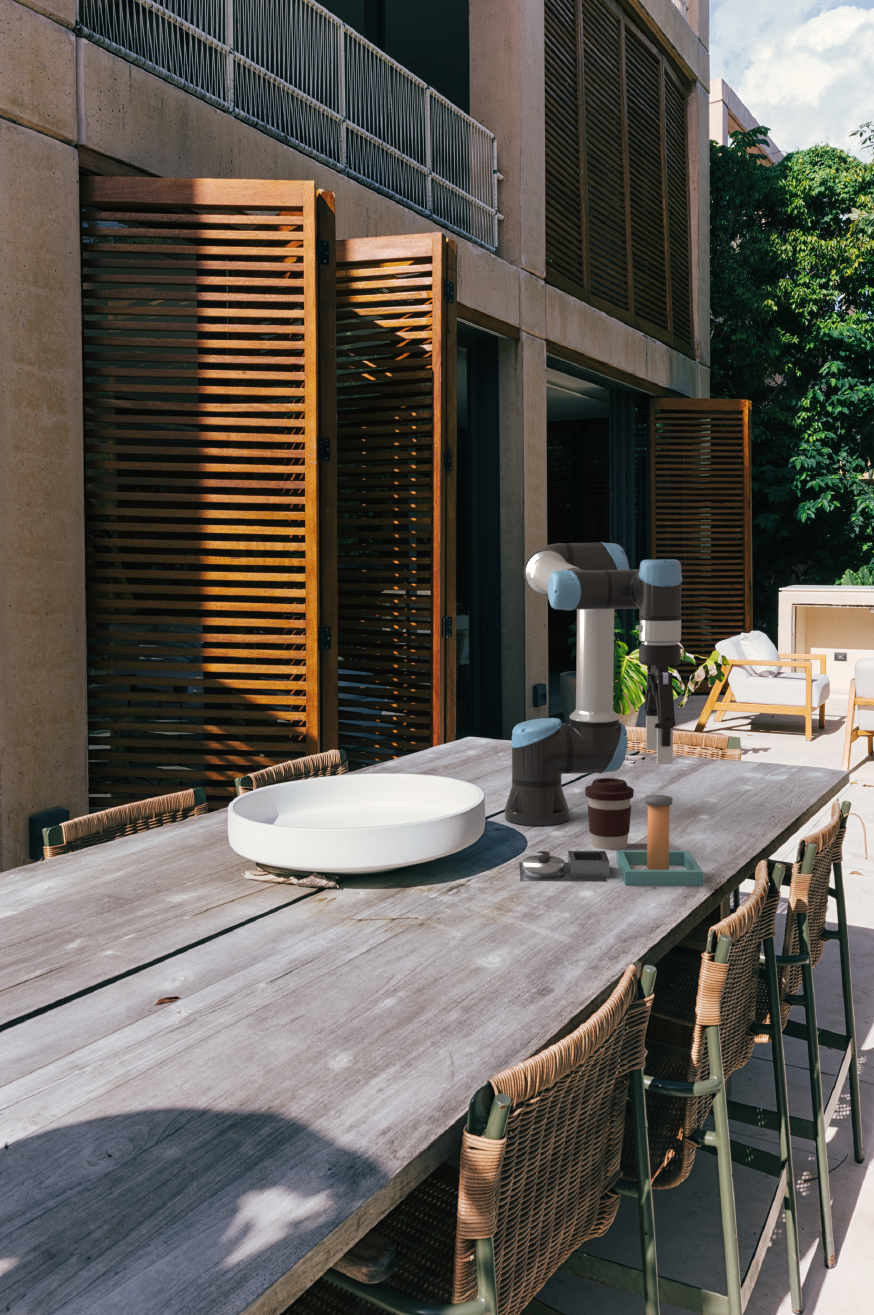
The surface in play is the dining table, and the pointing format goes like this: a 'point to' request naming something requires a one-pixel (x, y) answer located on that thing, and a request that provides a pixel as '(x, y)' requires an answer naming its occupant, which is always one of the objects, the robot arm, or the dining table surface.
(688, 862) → the tray
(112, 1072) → the dining table surface
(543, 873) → the silver rectangular stand
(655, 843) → the pin
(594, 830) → the coffee cup
